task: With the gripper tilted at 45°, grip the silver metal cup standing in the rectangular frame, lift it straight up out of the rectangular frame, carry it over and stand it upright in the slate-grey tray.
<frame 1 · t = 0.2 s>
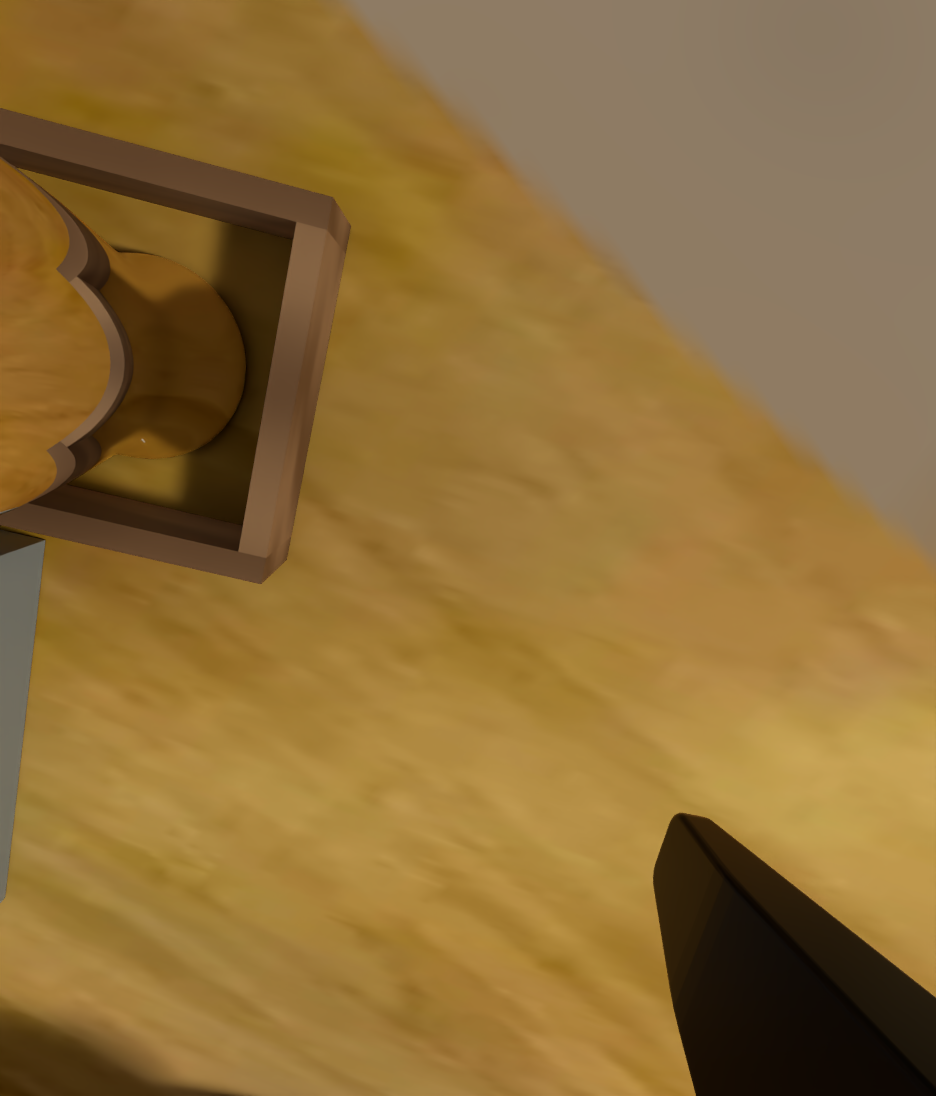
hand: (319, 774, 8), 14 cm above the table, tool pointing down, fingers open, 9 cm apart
rectangular frame: (149, 359, 21), on the table
silver metal cup: (152, 360, 21), resting in rectangular frame
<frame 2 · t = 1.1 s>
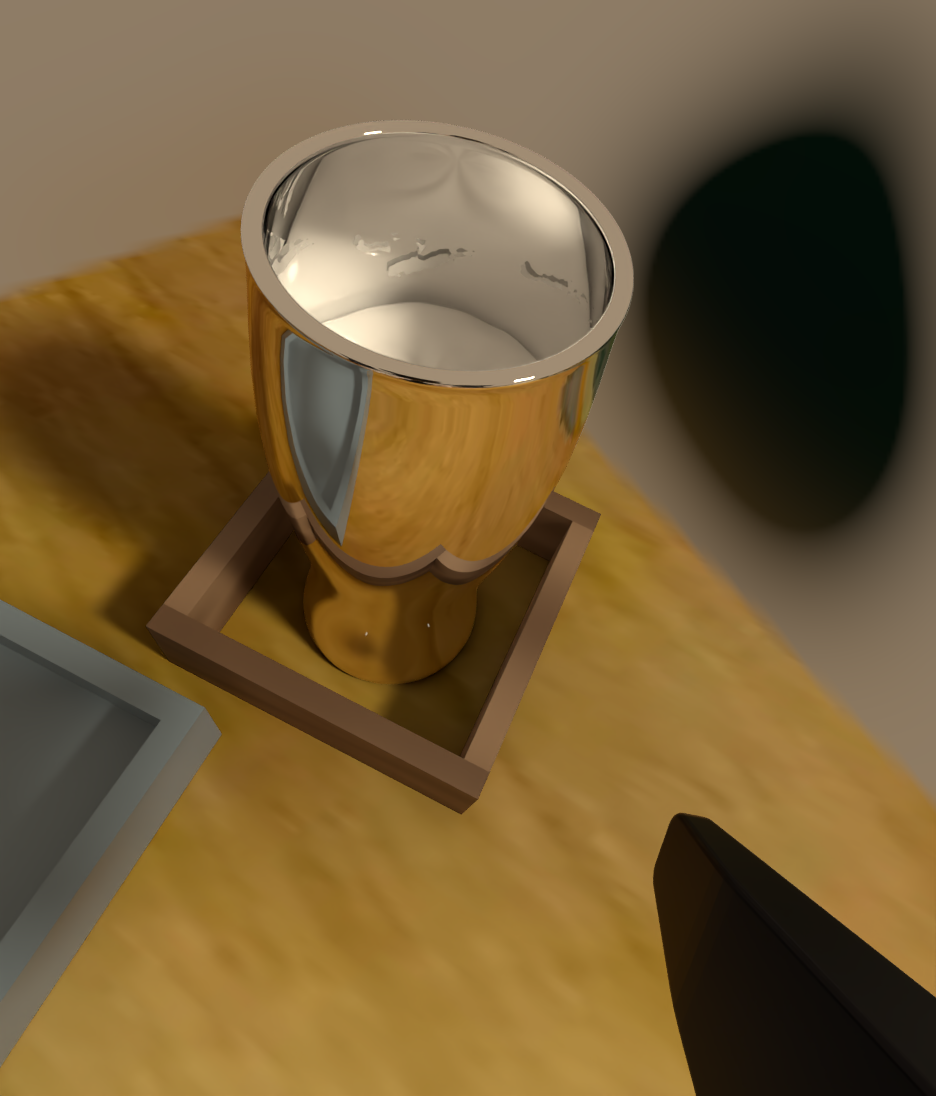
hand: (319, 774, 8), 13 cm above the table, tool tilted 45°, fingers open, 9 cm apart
rectangular frame: (391, 602, 24), on the table
silver metal cup: (390, 605, 24), resting in rectangular frame
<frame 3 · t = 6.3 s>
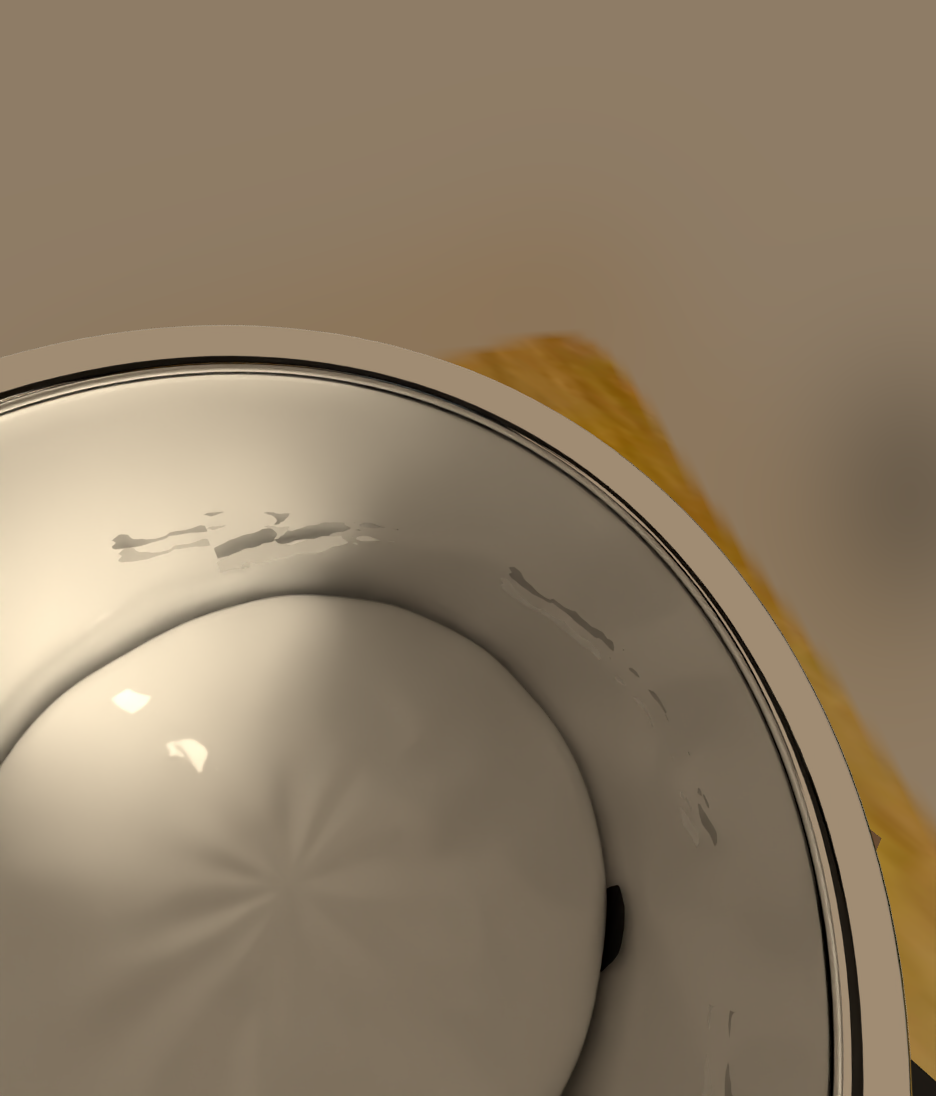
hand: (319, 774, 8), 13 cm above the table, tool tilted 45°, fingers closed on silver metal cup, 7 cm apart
silver metal cup: (322, 899, 16), point 3 cm above the table, touching gripper
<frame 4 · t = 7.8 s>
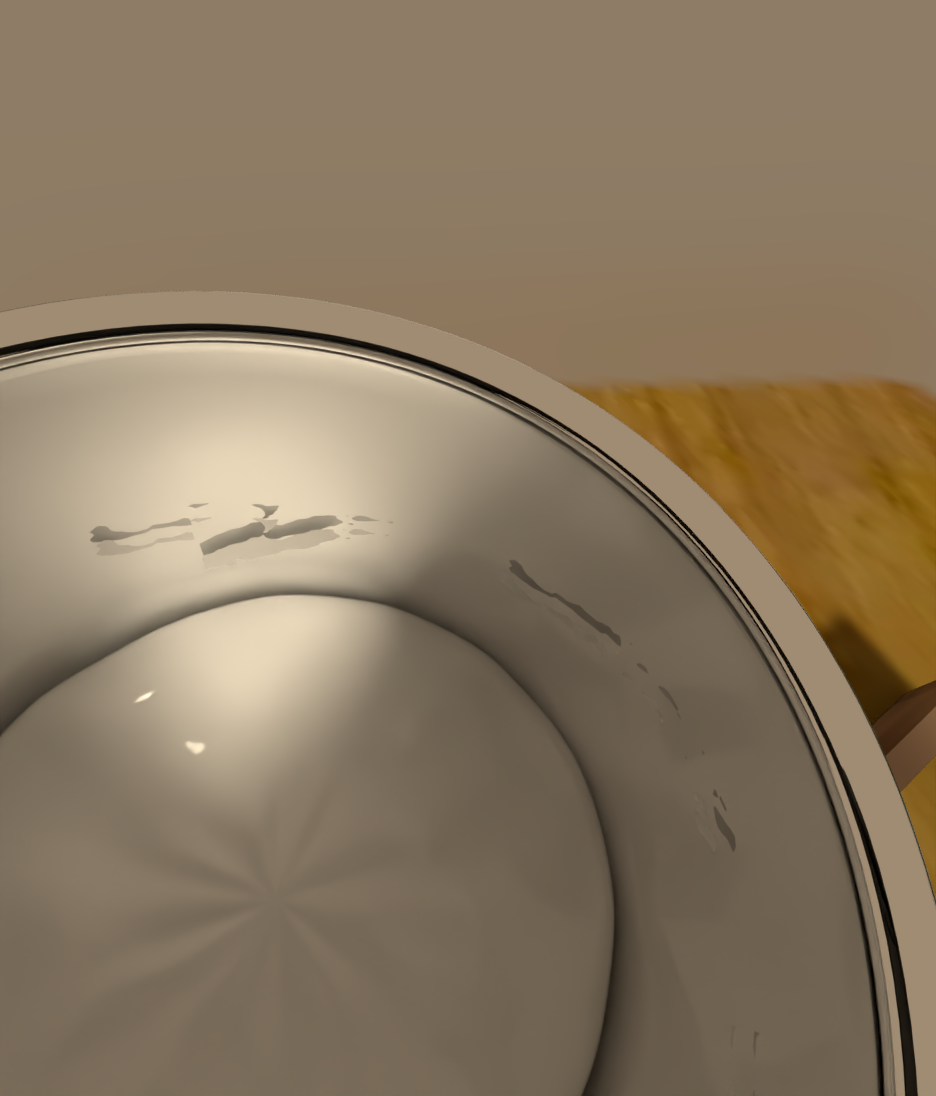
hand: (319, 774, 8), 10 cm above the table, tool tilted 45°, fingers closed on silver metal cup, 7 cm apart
silver metal cup: (316, 919, 16), point 1 cm above the table, touching gripper, tray
when the fingers open (10 cm above the table, at t = 9.0 s): silver metal cup stays where it is, resting on tray.
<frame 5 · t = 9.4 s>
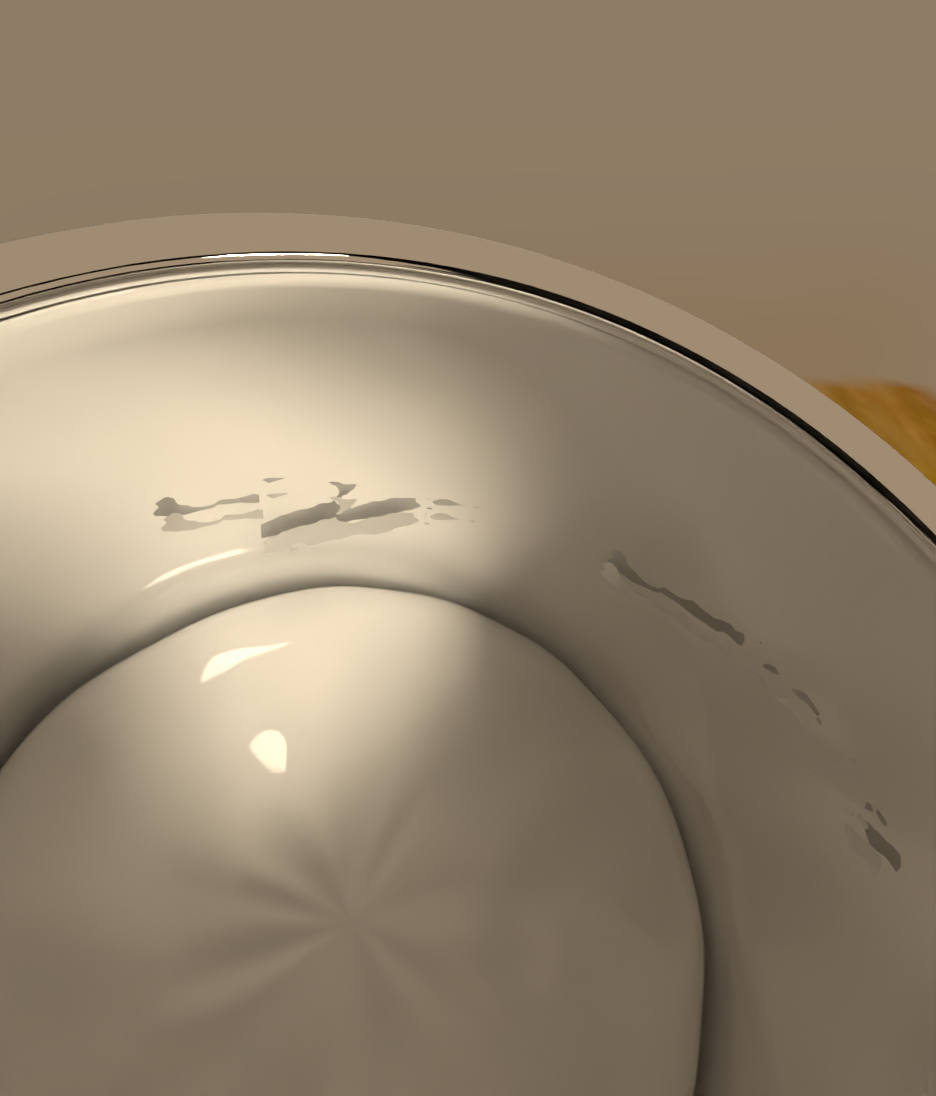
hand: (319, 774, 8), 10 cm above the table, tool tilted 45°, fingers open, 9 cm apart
silver metal cup: (311, 938, 15), point 1 cm above the table, touching gripper, tray
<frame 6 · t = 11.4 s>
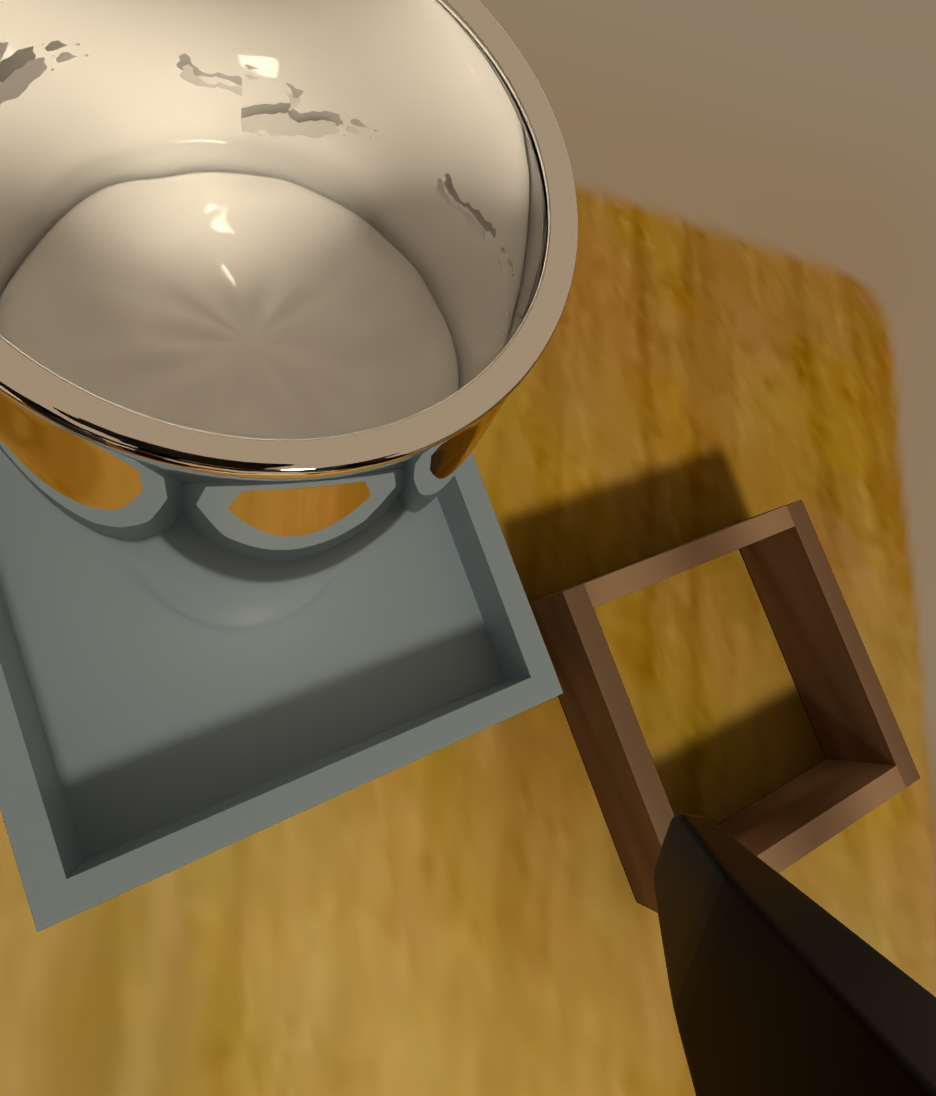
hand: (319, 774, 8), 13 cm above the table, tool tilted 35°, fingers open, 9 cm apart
tray: (239, 533, 21), on the table
rectangular frame: (695, 692, 25), on the table
silver metal cup: (241, 528, 20), point 1 cm above the table, touching tray
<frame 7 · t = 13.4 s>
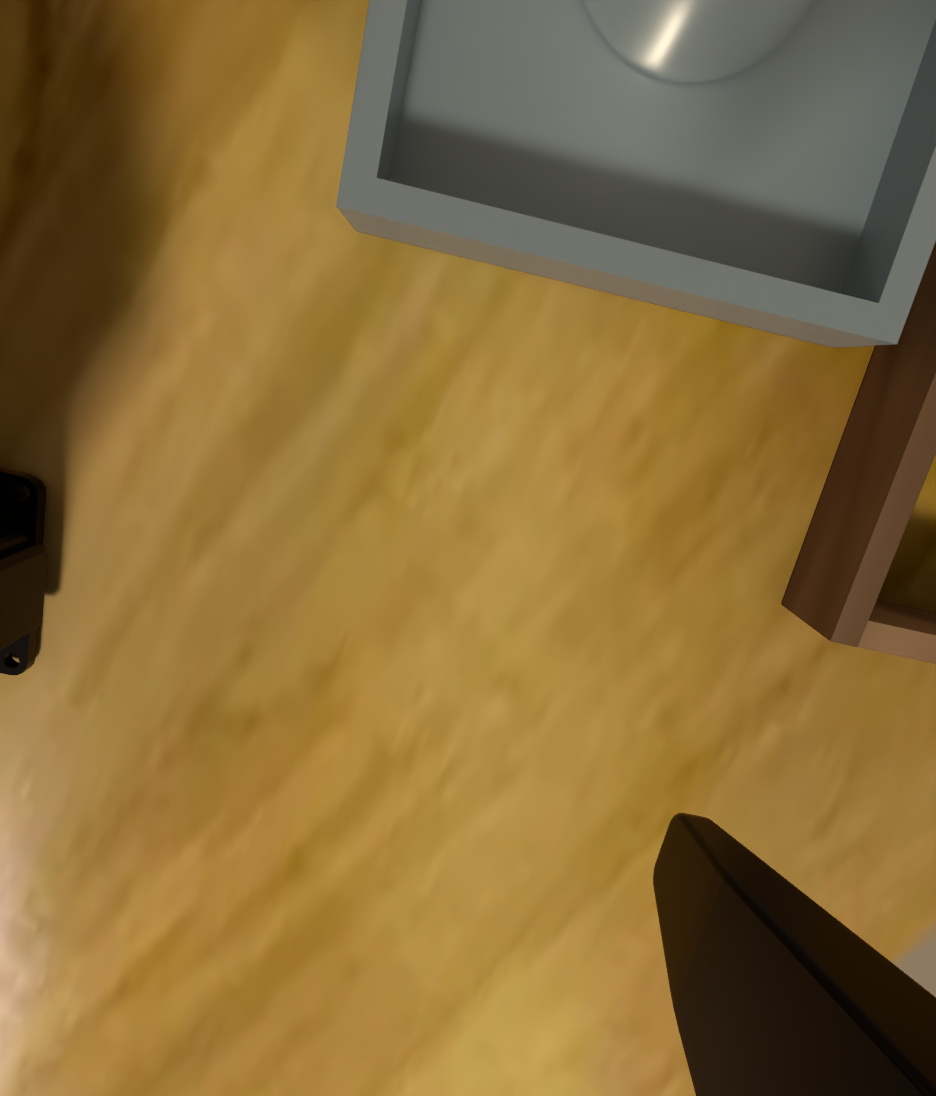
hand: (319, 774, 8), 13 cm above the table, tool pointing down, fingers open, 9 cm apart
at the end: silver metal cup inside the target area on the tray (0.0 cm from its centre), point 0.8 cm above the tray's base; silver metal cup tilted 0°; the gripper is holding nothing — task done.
